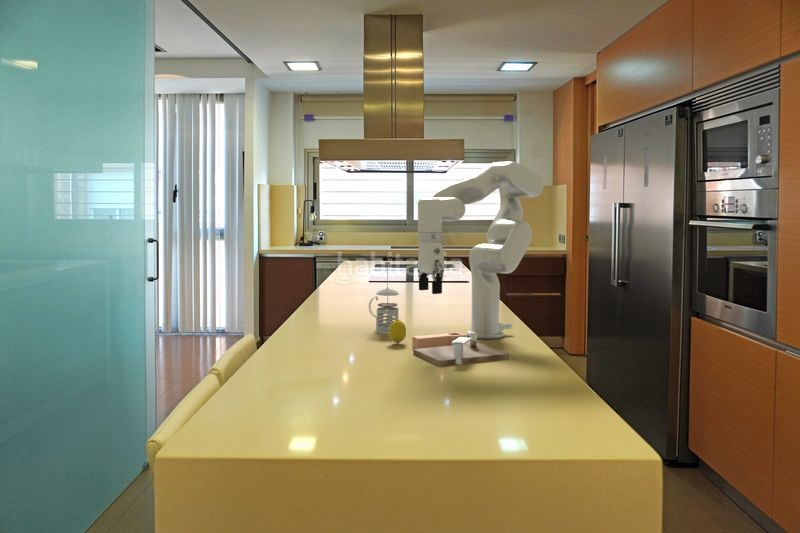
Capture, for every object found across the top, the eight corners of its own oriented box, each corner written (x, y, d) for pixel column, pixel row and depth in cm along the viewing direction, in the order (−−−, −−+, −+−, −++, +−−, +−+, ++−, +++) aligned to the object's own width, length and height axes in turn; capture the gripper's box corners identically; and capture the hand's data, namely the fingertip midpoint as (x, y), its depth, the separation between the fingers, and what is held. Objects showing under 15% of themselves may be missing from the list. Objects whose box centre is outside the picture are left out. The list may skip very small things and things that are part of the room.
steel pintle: (474, 346, 211) (474, 331, 211) (477, 347, 209) (478, 333, 209) (468, 346, 210) (469, 332, 210) (472, 348, 209) (472, 333, 208)
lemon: (404, 345, 219) (404, 321, 219) (387, 345, 220) (387, 320, 220) (407, 342, 225) (407, 318, 224) (391, 341, 226) (391, 317, 225)
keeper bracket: (459, 358, 202) (459, 336, 201) (470, 359, 201) (471, 337, 200) (451, 364, 194) (451, 342, 194) (463, 365, 193) (463, 342, 193)
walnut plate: (479, 347, 217) (479, 342, 217) (509, 358, 201) (509, 353, 201) (413, 354, 207) (413, 349, 207) (439, 366, 192) (439, 360, 192)
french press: (398, 334, 239) (398, 262, 236) (365, 333, 241) (365, 262, 239) (403, 329, 248) (403, 260, 246) (372, 328, 251) (372, 260, 248)
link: (457, 342, 225) (457, 332, 224) (465, 345, 220) (466, 334, 219) (411, 346, 218) (411, 336, 217) (418, 350, 213) (418, 339, 212)
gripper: (453, 238, 209) (453, 294, 210) (428, 236, 225) (429, 288, 226) (431, 239, 206) (431, 296, 208) (407, 236, 222) (408, 289, 223)
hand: (430, 291), depth 217 cm, fingers open, 9 cm apart
